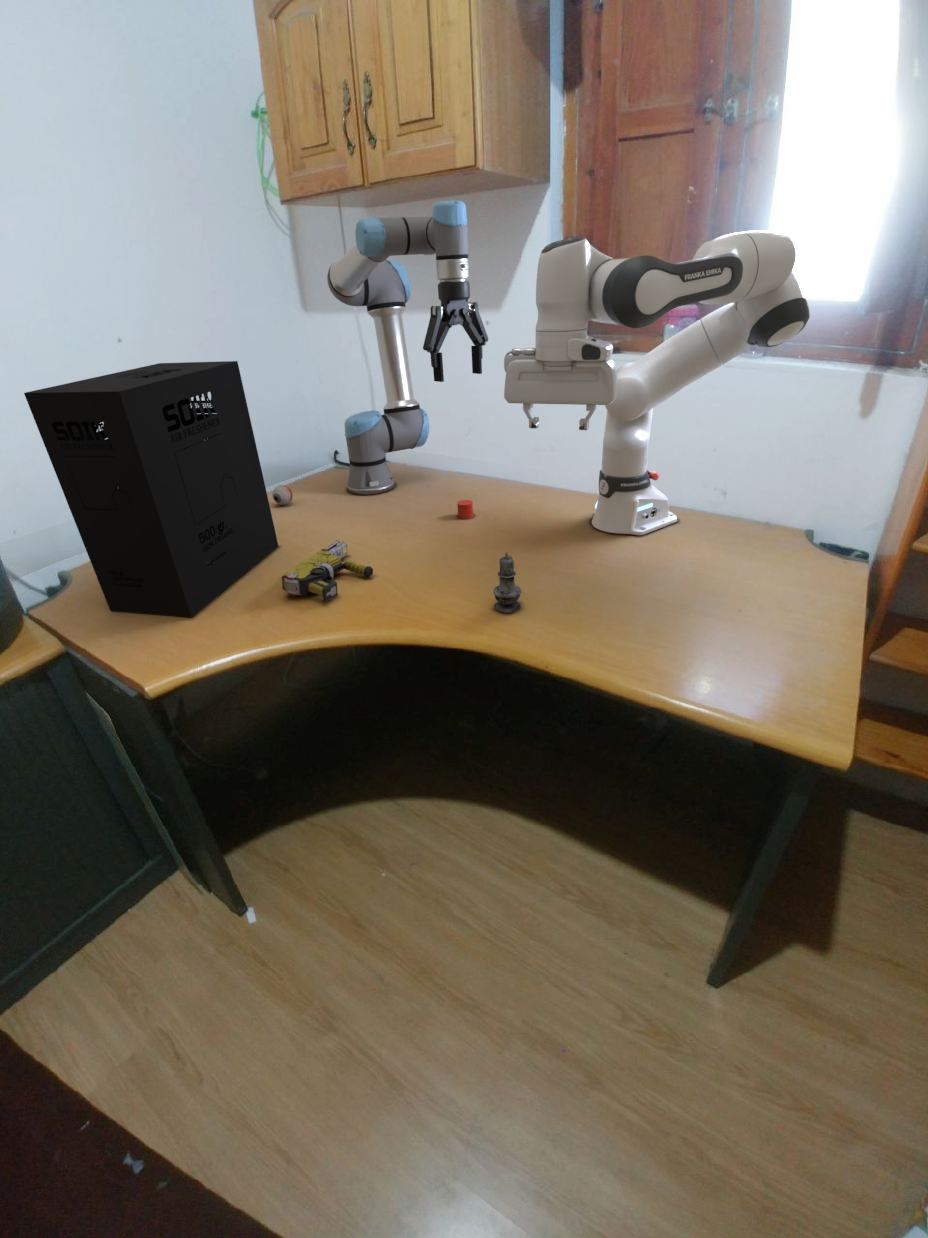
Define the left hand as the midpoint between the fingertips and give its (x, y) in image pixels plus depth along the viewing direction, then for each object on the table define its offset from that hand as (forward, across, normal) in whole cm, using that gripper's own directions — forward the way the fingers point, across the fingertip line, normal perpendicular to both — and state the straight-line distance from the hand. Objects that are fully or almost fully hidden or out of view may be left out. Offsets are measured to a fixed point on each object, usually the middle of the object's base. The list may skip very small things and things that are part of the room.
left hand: (458, 377), depth 152 cm
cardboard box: (+37, -67, +23) cm, 80 cm away
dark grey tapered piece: (+37, -32, -44) cm, 66 cm away
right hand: (+3, -20, -47) cm, 51 cm away
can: (+37, 0, 0) cm, 37 cm away
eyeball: (+37, -27, +53) cm, 70 cm away
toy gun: (+37, -47, -5) cm, 60 cm away
